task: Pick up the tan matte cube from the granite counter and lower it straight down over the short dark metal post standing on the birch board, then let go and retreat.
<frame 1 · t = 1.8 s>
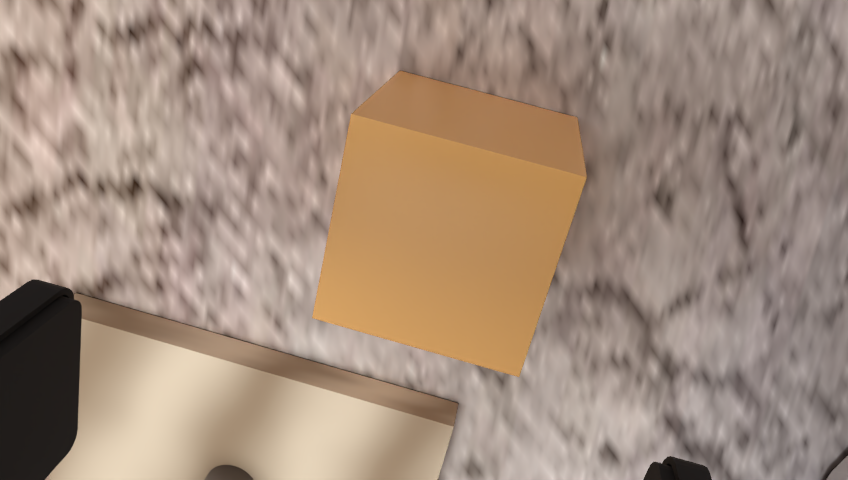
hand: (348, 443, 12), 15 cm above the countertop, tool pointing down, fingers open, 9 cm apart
tan matte cube: (465, 178, 25), on the countertop
post board: (245, 462, 32), on the countertop
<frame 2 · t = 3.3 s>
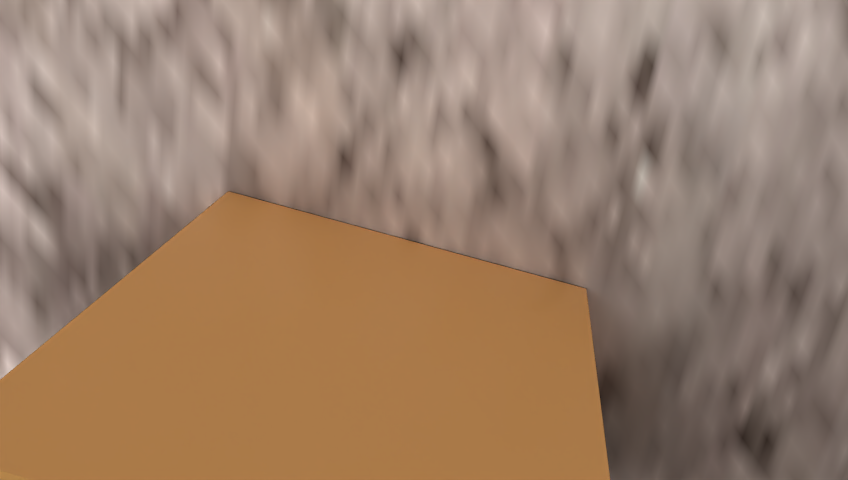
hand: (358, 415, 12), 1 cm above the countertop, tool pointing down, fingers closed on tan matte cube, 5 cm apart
tan matte cube: (369, 388, 13), on the countertop, touching gripper
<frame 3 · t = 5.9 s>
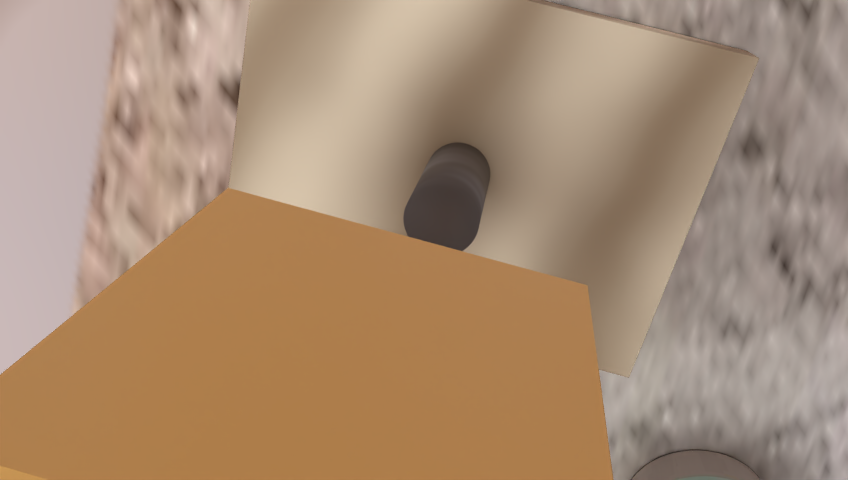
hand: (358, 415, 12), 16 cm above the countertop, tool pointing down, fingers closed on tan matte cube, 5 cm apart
tan matte cube: (370, 385, 13), point 15 cm above the countertop, touching gripper
post board: (462, 161, 26), on the countertop
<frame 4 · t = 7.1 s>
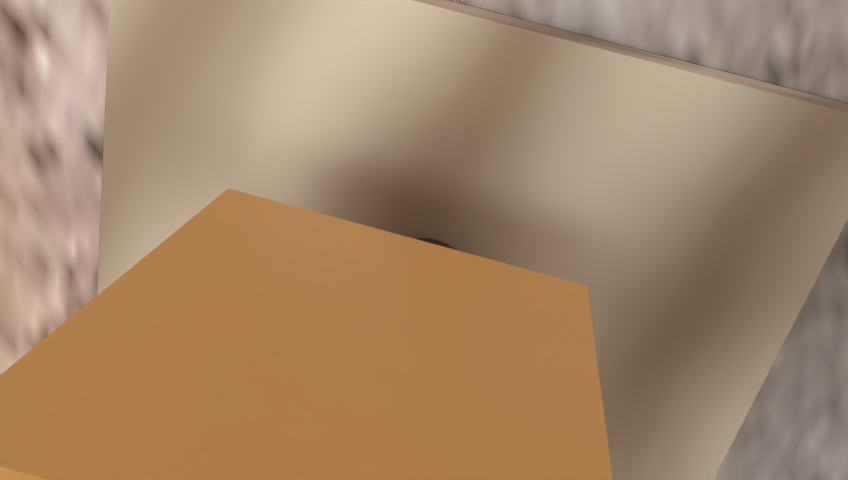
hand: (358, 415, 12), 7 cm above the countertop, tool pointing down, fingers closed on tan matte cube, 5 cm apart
tan matte cube: (369, 386, 13), point 6 cm above the countertop, touching gripper
post board: (434, 255, 18), on the countertop
when the fingers open (4 cm above the countertop, at t = 8.1 s): tan matte cube drops 1 cm, resting on post board.
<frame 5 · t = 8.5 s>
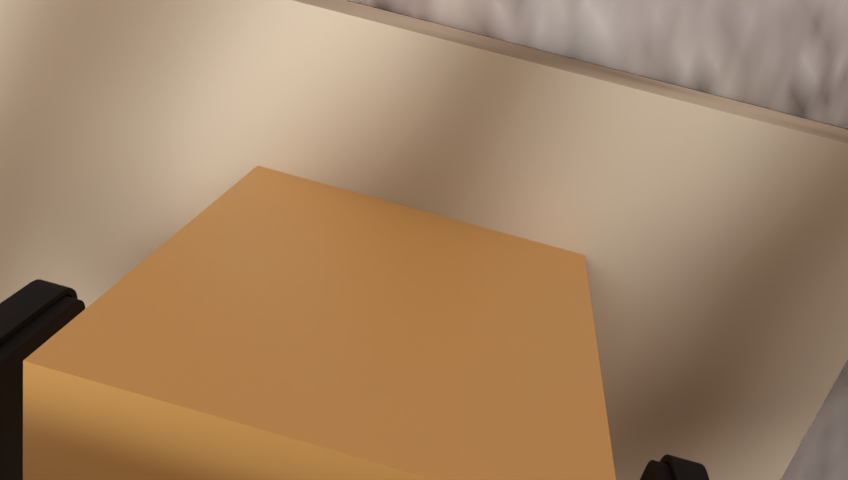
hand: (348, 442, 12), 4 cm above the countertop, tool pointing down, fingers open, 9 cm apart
tan matte cube: (384, 349, 14), point 1 cm above the countertop, touching post board
post board: (396, 314, 16), on the countertop
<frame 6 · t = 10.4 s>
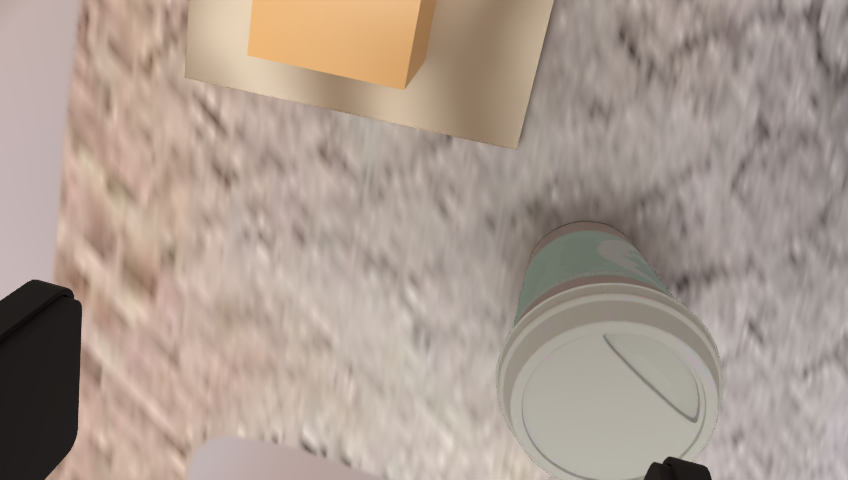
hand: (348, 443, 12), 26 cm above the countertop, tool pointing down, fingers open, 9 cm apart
coffee cup: (583, 271, 38), on the countertop
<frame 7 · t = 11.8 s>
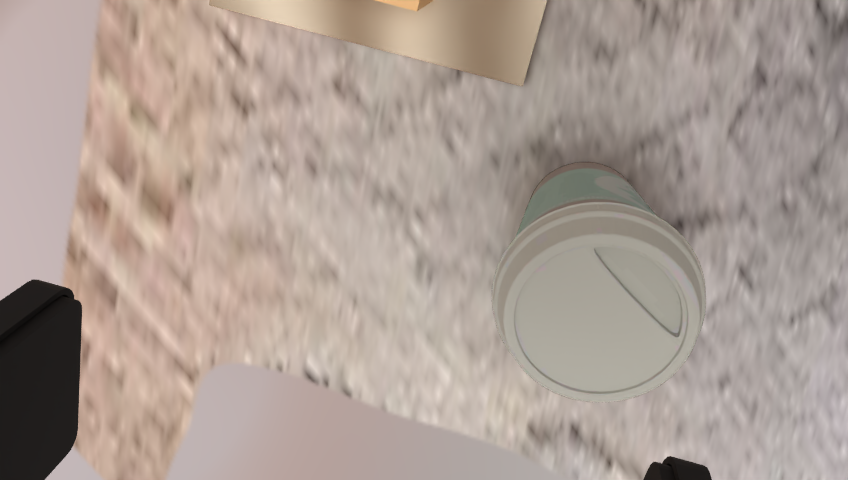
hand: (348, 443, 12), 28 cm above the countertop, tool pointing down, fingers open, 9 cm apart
coffee cup: (582, 212, 39), on the countertop
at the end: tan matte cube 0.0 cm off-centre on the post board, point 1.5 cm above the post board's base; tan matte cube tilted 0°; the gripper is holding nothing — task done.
